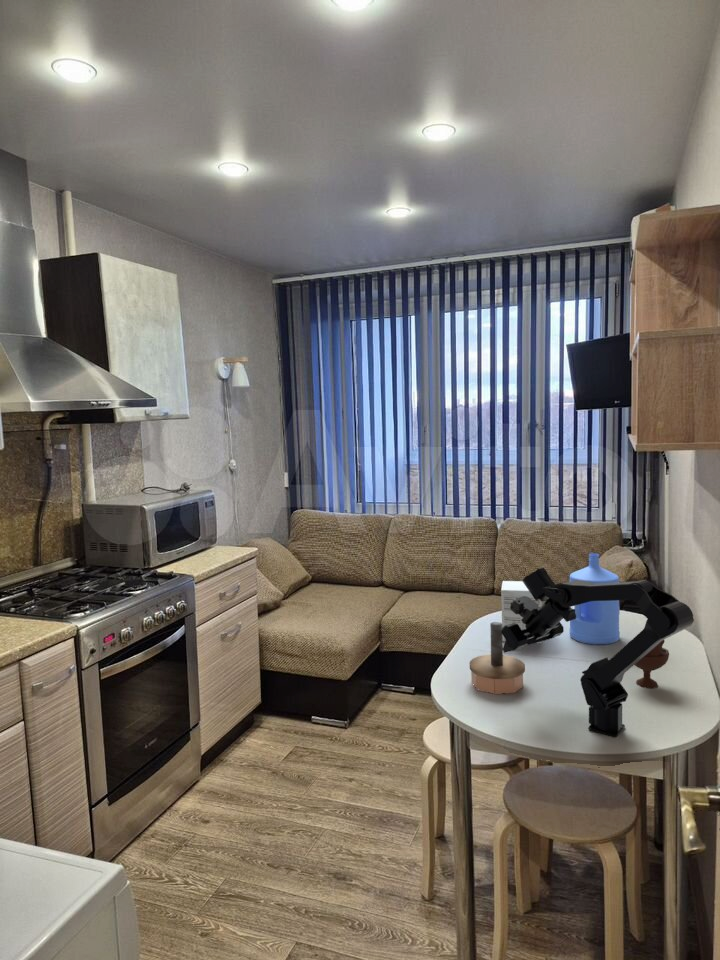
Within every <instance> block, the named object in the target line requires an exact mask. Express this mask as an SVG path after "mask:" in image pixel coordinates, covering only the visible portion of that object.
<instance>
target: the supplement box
mask: <svg viewBox="0 0 720 960" xmlns="http://www.w3.org/2000/svg"><path fill="white" fill-rule="evenodd" d="M500 592H501V594H500V595H501V596H500V597H501V623H502V628H503V627H504V626H505V625H508V624H512V623H516V624H518V625H519V627H520V628H521V630H524V629H526V627H525V625H526V624H523V622H522V621H521V620H522V619H523V617H521V616H520V615H519V614H515V613H514V612H513V611H512V610H511V609H510V606H511V604H510V603H511V602H513V600H515V599H516V598H519V597H522V596H527V597H529V598H530V599H531V600H533V601H534V602H535V603H536V604H537V605H538V606H539V607H541V606H542V605H543V601H540V599H539V600H537V601H536V600H535V599H534V597H533V596H532V594H531V593H530V592H529V590H528V589H527V587H526V586H525V584H524V583H523V580H519V581H518V580H517V581H516V580H502V583H501V589H500ZM502 636H503V634H502ZM505 641H506V639H505V638H504V636H503V642H504V643H505ZM536 644H538V645H539V644H543V641H541V642H537V643H536Z"/></svg>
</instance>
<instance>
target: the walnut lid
mask: <svg viewBox="0 0 720 960" xmlns="http://www.w3.org/2000/svg"><path fill="white" fill-rule="evenodd" d="M501 629H502V622H499V621H493V622H491V623H490V654H483V655H478V656H475V657H473V658H472V659H471V660H470V661H469V670H470V672H471V671H472V672H473V673H474V674H476V675H479V676H482V677H486V678H493V679H509V678H514V677H518V676H520V675H522V674H523V675H524V673H525V672H526V664H525V662H523V661H522V660H521V659H520V658H517V657H514V656H511V655H504V654H503V653H504V651H503V646H504V643H503V642H504V641H503V636H502V633H501Z"/></svg>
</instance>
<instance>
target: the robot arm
mask: <svg viewBox="0 0 720 960" xmlns="http://www.w3.org/2000/svg"><path fill="white" fill-rule="evenodd" d="M522 581H523V583H524V584H525V586H526V587H527V589H528V590H529V592H530V593H531V594H532V596H533V597H534V599H535V600H536V601H537V600H539V599H540V601H542V602H544V601H545V602H544V603H542V606H541V607H539V606H538V605H537V604H536V603H535V602H534V601H533V600H531V599H530V598H529V597H527V596H522V597H519V598H516V599H515V600H513V602H511V603H510V604H511V606H510V609H511V610H512V611H513V612H514V613H515V614H519V615H520V616H521V617H523V619H522V620H521V621H522V622H523V624H526V625H525V627H526V629H524V630H521V628H520V627H519V625H518V624H516V623H512V624H508V625H505V626H504V627H503V628H502V629H501V633H502V634H503V636H504V638H505V639H506V641H505V642H504V643H503V653H504V654H505V653H509V652H513V651H519V650H521V649H524V648H525V646H527V645H529V646H531V645H533V644H534V645H535V644H538V643H537V642H541V641H542V642H544V641H548V640H551V639H554V638H556V637H559V636H561V635H562V634H563V633H564V632H565V630H564V629H565V627H564V626H563V624H562V623H561V621H562V620H563V619H564V621H565V622H566V623H567V622H570V621H571V620H574V619H576V614H575V609H574V608H573V607H574V606H575V605H579V604H583V603H587V602H590V601H615V600H619V601H633V602H634V603H635V604H636V605H637V607H638V609H639V610H640V612H641V614H642V615H643V617H645V618H646V621H645V625H644V627H643V629H642V630H641V631H640V632H638V634H637V635H636V636H635V637H633V638H632V639H631V640H630V641H628V642H627V644H625V645H624V646H623V647H622V648H620V650H619V651H618V652H616V653H615V654H614V655H613V656H612V657H611V658H610V659H609V658H608V657H604V658H602V659H599V660H596V661H594V662H592V663H591V664H590V665H589V666H588V667H587V669H586V670H584V671H583V670H582V671H581V674H582V675H581V677H580V685H581V688H582V691H583V695H584V697H585V701H586V705H588V724H589V726H588V727H587V728H588V731H591V732H592V731H593V732H596V733H600V734H603V735H607V736H610V737H613V738H617V737H618V736H619V734H621V732H622V731H623V730H624V729H625V728H626V725H625V724H623V703H624V702H626V701H627V699H628V697H629V694H628V691H626V689H625V688H624V686H623V685H622V683H621V682H623V678H624V675H625V674H626V672H627V671H629V670H630V669H632V668H633V666H635V664H636V663H637V662H638V661H639V660H640V659H642V658H643V657H644V656H645V655H646V654H647V653H649V652H650V651H651V650H652V649H653V648H654V647H655V646H657V645H658V644H659V643H660V642H661V641H662V640H664V641H665V640H666V639H668V638H670V637H672V636H674V635H676V634H678V633H680V632H682V631H684V630H686V629H688V628H689V627H692V625H693V623H694V621H695V619H694V614H693V611H692V609H691V608H690V606H688V605H687V604H686V603H684V602H682V601H680V600H678V599H677V598H676V597H675V596H673V595H672V594H670V593H668V592H666V591H664V590H662V589H661V588H659V587H657V586H655V584H654V583H652V581H649V580H647V579H642V580H638V581H637V580H636V581H623V582H622V581H619V583H602V584H595V583H591V582H589V581H582V580H574V581H570V582H569V581H566V582H560V583H556V584H555V582H554V581H553V579H552V578H551V576H550V575H549V574H548V571H547V570H546V569H545V567H539V568H537V569H536V570H535V571H532V572H531V573H529V574H528V575H526V576H525V577H524V578H523V579H522Z"/></svg>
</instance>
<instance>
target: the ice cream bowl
mask: <svg viewBox="0 0 720 960" xmlns="http://www.w3.org/2000/svg"><path fill="white" fill-rule="evenodd" d="M664 643H665V639H664V640H662V641H661V642H660V643H659V644H658V645H657V646H655V647H654V648H653V649H652V650H651V651H650V652H649V653H647V654H646V655H645V656H644V657H643V658H642V659H640V660H639V661H638V662H637V663H636V664H635V665H634V666H635V667H636V668H638V669H639V670H642V671H643V677H641V678H638V679H637V680H636V681H635V684H636V685H637V686H639V687H640V686H641V687H642V688H644V687H646V689H653V688H652V687H655V688H657V687H656V686H658V682H657V681H656V680H654V679H652V678H651V673H652V671H655V670H658V669H660V668H662V667H664V665H666V664H667V662H668V660H669V657H670V652H669V650H668V649H667V648H665V647H663V645H664Z"/></svg>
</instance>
